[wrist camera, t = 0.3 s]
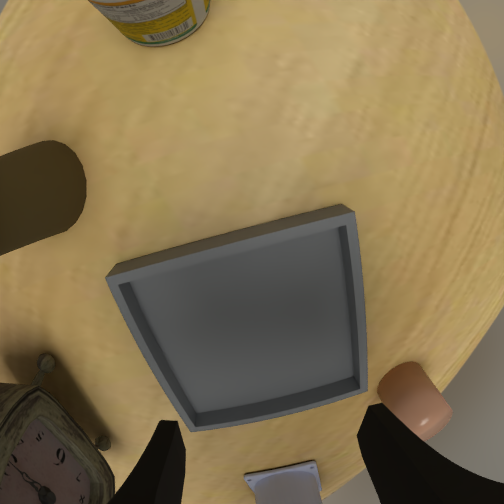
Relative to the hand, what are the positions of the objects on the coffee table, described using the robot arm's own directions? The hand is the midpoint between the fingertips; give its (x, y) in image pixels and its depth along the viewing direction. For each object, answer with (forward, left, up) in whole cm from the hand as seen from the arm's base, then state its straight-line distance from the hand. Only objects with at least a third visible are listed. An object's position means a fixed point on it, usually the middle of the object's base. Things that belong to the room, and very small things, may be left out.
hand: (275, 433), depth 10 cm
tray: (-2, 0, -10) cm, 10 cm away
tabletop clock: (-6, +20, -10) cm, 24 cm away
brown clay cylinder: (-12, -11, -10) cm, 19 cm away
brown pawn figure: (+11, +10, -10) cm, 18 cm away
